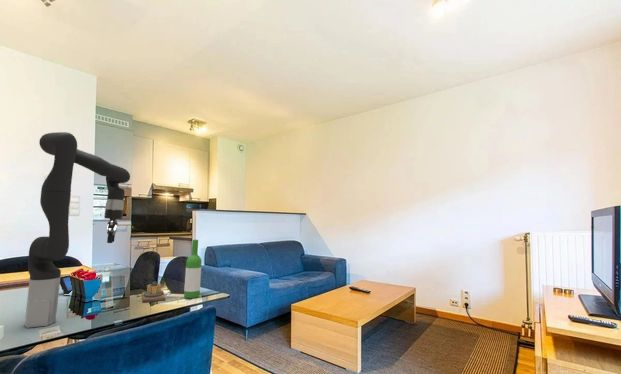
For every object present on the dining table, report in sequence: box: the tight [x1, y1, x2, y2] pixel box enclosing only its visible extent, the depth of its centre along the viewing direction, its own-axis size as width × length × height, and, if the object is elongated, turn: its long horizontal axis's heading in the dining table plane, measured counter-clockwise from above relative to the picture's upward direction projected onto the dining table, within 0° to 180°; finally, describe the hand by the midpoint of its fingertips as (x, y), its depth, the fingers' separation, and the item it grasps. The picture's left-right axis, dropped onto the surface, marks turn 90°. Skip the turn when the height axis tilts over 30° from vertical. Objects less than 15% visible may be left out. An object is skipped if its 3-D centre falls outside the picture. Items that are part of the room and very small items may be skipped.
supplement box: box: [93, 272, 104, 299], centre depth 152 cm, size 7×7×13 cm
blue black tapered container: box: [59, 274, 72, 294], centre depth 166 cm, size 16×13×9 cm
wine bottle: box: [183, 239, 202, 299], centre depth 164 cm, size 8×8×30 cm
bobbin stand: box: [141, 281, 166, 304], centre depth 159 cm, size 16×10×8 cm, turn 29°
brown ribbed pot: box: [146, 283, 162, 295], centre depth 159 cm, size 6×6×4 cm
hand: (110, 242), depth 149 cm, fingers open, 8 cm apart
